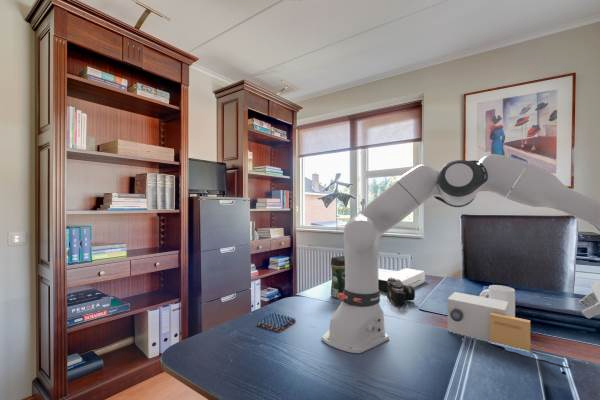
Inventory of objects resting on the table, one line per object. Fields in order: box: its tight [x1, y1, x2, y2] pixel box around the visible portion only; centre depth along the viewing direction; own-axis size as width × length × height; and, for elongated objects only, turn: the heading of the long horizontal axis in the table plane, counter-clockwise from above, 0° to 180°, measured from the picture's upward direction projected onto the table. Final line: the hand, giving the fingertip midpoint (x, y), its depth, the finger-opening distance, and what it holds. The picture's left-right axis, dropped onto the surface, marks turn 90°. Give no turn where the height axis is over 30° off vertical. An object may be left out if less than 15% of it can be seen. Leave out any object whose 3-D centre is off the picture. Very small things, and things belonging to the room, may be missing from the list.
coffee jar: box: [330, 255, 345, 299], centre depth 135 cm, size 10×8×19 cm
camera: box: [386, 277, 416, 309], centre depth 128 cm, size 16×10×10 cm, turn 178°
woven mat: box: [257, 312, 297, 333], centre depth 104 cm, size 10×11×2 cm
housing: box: [446, 291, 509, 341], centre depth 96 cm, size 12×16×11 cm
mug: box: [479, 284, 516, 317], centre depth 110 cm, size 8×12×12 cm
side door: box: [490, 312, 531, 352], centre depth 86 cm, size 2×10×9 cm, turn 50°
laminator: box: [378, 267, 426, 294], centre depth 153 cm, size 34×12×6 cm, turn 137°
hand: (582, 309), depth 76 cm, fingers open, 8 cm apart
